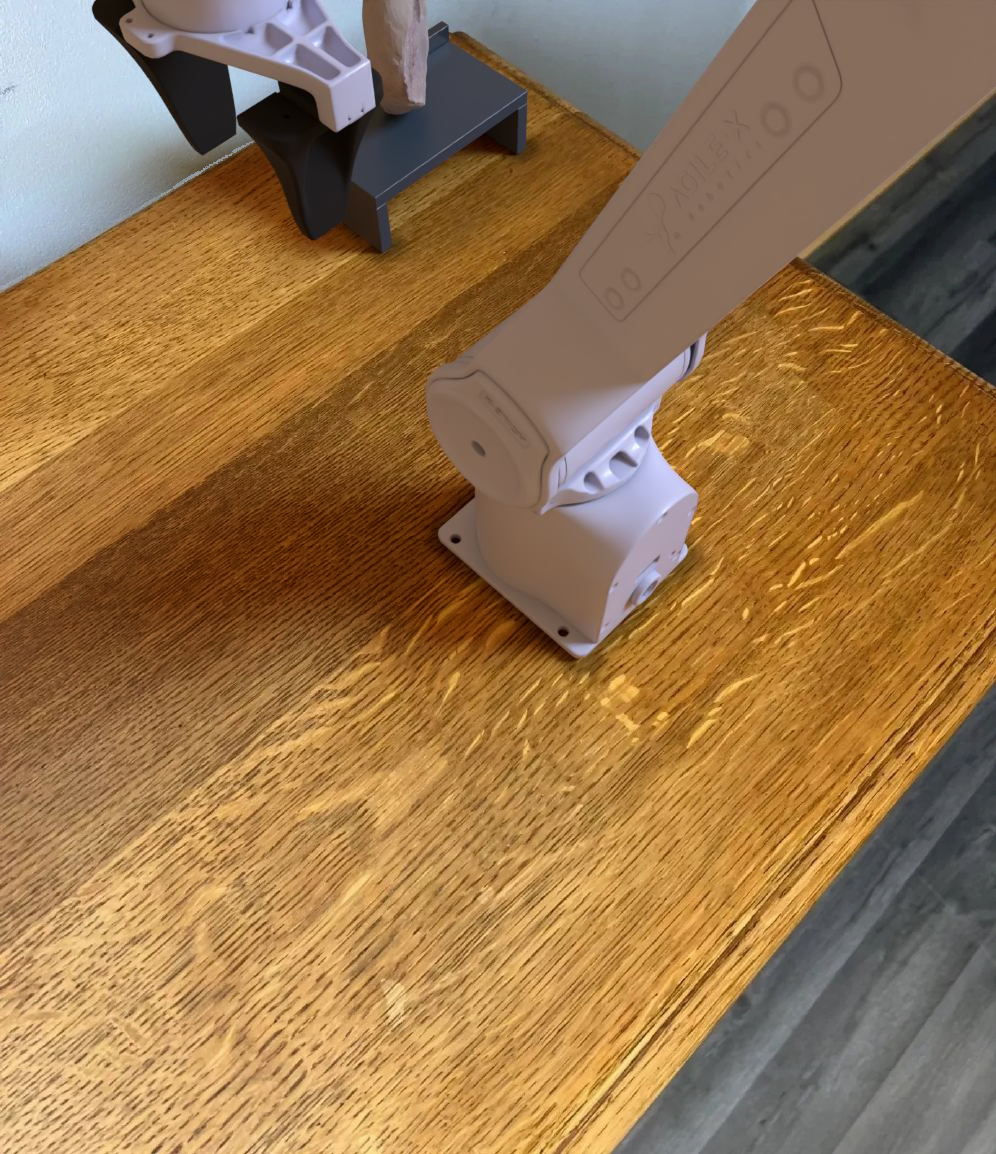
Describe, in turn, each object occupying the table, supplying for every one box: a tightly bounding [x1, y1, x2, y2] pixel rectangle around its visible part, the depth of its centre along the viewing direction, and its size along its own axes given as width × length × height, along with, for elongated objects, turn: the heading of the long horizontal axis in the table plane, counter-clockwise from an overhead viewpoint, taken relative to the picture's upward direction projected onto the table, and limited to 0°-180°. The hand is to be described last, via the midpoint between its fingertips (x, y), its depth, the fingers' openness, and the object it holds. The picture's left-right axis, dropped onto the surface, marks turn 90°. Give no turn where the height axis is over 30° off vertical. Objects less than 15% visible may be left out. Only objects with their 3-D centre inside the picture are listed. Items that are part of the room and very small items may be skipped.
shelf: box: [341, 20, 528, 254], centre depth 58 cm, size 7×12×5 cm, turn 136°
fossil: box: [361, 0, 429, 115], centre depth 52 cm, size 6×4×10 cm, turn 167°
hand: (268, 182), depth 45 cm, fingers open, 7 cm apart
